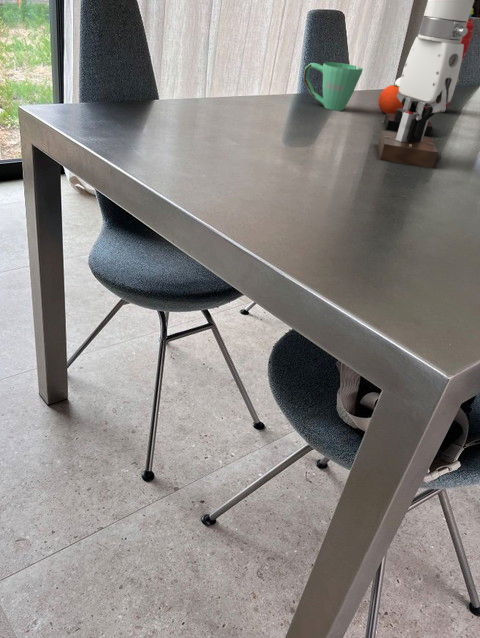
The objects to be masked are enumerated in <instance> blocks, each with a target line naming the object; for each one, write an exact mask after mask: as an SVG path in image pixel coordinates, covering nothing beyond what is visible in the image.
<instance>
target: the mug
mask: <svg viewBox="0 0 480 638" xmlns="http://www.w3.org/2000/svg"><path fill="white" fill-rule="evenodd" d="M311 69H313V70H317V72H319V73H321V74H322V88H321V89H322V96H321V95H320V94H318V93H317V92H315V90H314V87H313V85H312V83H311V80H310V79H309V78H310V77H309V76H310V71H311ZM363 70H364V69H363V67H361V66H358V68H357V66H356V65H353V64H348V63H343V62H342V63H340V62H331V61H329V62H324V63H323V65H321V64H319V63H317V62H310V63H309V64H308V65H306V66H305V67H304V74H303V75H304V77H303V83H304V84H305V86H306V88H307V90H308V92H309V94H310V96H311V97H312V98H314V99H315V100H316V101H318V102H319V103H320V104H322V106H323V108H325V109H327V110H330V111H337V112H339V111H340V112H342V111H344V109H345V107H346V106H347V105H348V103H349V101H350V99H351V97H352V96H353V94H354V92H355V89H356V87H357V84H358V82H359V80H360V77H361V75H362V73H363Z"/></svg>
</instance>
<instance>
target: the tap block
mask: <svg viewBox="0 0 480 638" xmlns="http://www.w3.org/2000/svg"><path fill="white" fill-rule="evenodd" d="M397 133H398V132H395V131H389V130H381V132H380V136H379V139H378V143H377V149H378V155H379V160H380V161H385V162H391V163H397V164H403V165H409V166H417V167H422V168H428V169H434V167H435V163H436V160H437V157H438V155H439V152H438V149H437V147H436V145H435V143H434V141H433V139H432V137H428V136H423V139H422V141H419V142H400V141H398V140H396V136H397Z"/></svg>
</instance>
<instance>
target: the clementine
mask: <svg viewBox="0 0 480 638" xmlns="http://www.w3.org/2000/svg"><path fill="white" fill-rule="evenodd" d="M398 92H399V86H398V85H397V84H396V85H395V84H390V85H388V86H386V87H385V88H384V89H383V90H381V92H380V94H379V96H378V100H377V104H378V107H379V109H380V111H381V112H382V113H384V114H385V115H386V113H394V114H396V111H397V109H399V108H403V107H402V103H401V102H400V101H399V100H398V98H397V94H398Z"/></svg>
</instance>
